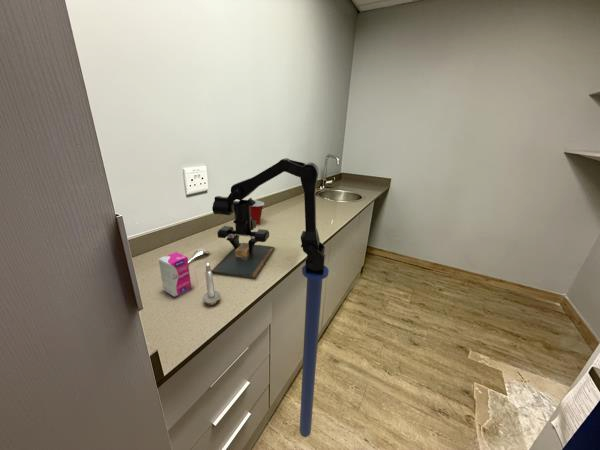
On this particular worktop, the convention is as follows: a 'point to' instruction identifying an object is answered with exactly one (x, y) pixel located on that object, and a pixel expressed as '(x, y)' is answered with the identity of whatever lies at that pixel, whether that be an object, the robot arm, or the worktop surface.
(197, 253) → the metal serving spoon
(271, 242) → the worktop surface
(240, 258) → the wooden block
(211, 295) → the screw
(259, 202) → the plastic cup
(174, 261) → the supplement box
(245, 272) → the chalkboard
